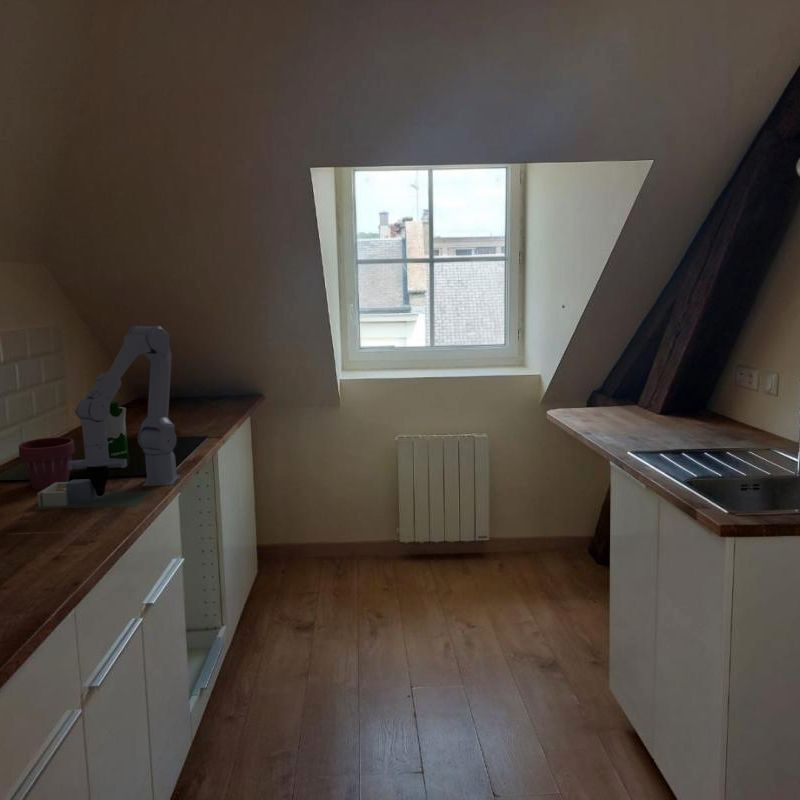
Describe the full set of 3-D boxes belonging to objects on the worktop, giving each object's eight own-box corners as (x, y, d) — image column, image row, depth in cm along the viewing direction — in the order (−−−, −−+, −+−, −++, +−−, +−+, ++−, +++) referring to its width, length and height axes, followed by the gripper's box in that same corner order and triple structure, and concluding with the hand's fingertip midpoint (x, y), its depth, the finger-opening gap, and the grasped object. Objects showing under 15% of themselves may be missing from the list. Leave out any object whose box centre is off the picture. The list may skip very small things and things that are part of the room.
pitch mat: (56, 495, 204) (56, 494, 204) (153, 492, 204) (152, 491, 204) (33, 510, 191) (33, 508, 191) (136, 507, 191) (136, 505, 191)
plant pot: (80, 488, 211) (75, 443, 209) (24, 496, 205) (19, 450, 203) (75, 477, 224) (71, 434, 222) (22, 484, 217) (17, 440, 215)
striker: (74, 498, 200) (72, 479, 199) (97, 497, 200) (95, 478, 199) (68, 502, 196) (66, 483, 195) (91, 501, 196) (89, 483, 195)
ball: (55, 491, 199) (64, 483, 198) (65, 500, 200) (74, 492, 199) (49, 496, 196) (58, 487, 195) (59, 505, 196) (68, 497, 196)
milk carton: (109, 470, 231) (103, 405, 227) (92, 466, 236) (85, 403, 233) (134, 464, 238) (128, 401, 235) (116, 460, 243) (111, 399, 240)
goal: (56, 495, 203) (55, 482, 203) (83, 494, 203) (81, 481, 203) (38, 506, 193) (37, 493, 193) (66, 505, 193) (64, 492, 193)
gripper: (60, 448, 192) (66, 500, 194) (118, 446, 192) (123, 498, 194) (72, 442, 199) (77, 492, 201) (128, 440, 199) (132, 490, 201)
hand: (100, 494), depth 198 cm, fingers closed
